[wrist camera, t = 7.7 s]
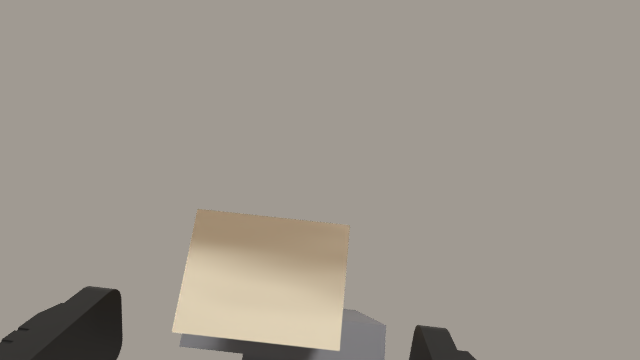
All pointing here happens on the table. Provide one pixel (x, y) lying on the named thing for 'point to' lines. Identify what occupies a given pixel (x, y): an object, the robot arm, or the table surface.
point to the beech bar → (264, 280)
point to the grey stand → (354, 356)
